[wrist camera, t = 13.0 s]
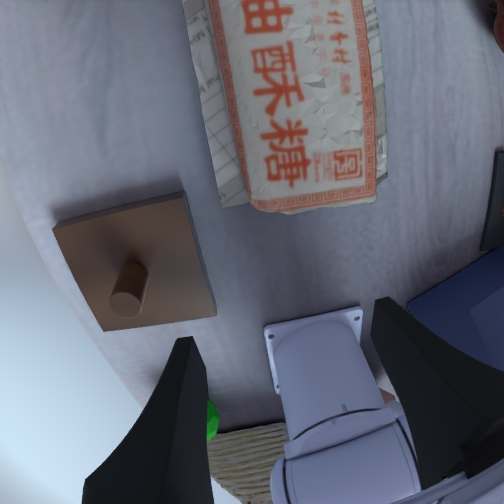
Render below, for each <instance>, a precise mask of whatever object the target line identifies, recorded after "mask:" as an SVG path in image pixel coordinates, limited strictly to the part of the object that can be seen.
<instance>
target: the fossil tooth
mask: <svg viewBox="0 0 504 504" xmlns="http://www.w3.org/2000/svg"><path fill="white" fill-rule="evenodd" d="M288 442H290V440H289V434H288V429H287V424H286V423H281V422H280V423H275V424H270V425H267V426H259V427H255V428H251V429H244V430H239V431H234V432H229V433H226V434H225V433H223V434H216V435H215V436H214V437H212V438H211V439H210V440H209V441H207V452H208V461H209V470H210V476H211V477H213V478H214V479H215V481H216V482H217V483H219V484H220V485H221V487H222V488H224V489H225V490H227V491H228V492H229V493H230V494H231V495H232V496H234V497H235V498H237V499H238V500H240V501H241V503H242V504H273V501H272V496H271V488H270V476H271V472H272V469H273V468H274V466H275V463H276V461H277V460H278V459H279V458H282V457H286V456H285V451H284V444H285V443H288Z"/></svg>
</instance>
